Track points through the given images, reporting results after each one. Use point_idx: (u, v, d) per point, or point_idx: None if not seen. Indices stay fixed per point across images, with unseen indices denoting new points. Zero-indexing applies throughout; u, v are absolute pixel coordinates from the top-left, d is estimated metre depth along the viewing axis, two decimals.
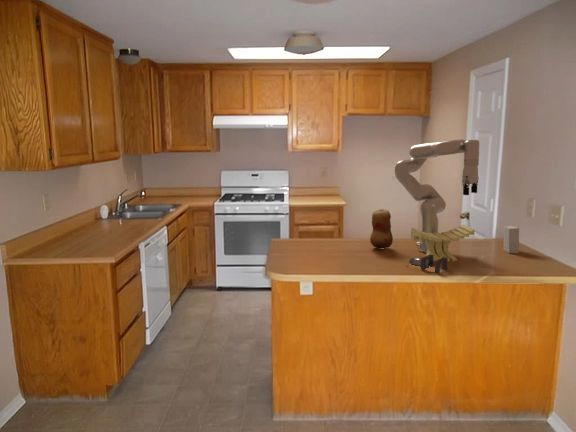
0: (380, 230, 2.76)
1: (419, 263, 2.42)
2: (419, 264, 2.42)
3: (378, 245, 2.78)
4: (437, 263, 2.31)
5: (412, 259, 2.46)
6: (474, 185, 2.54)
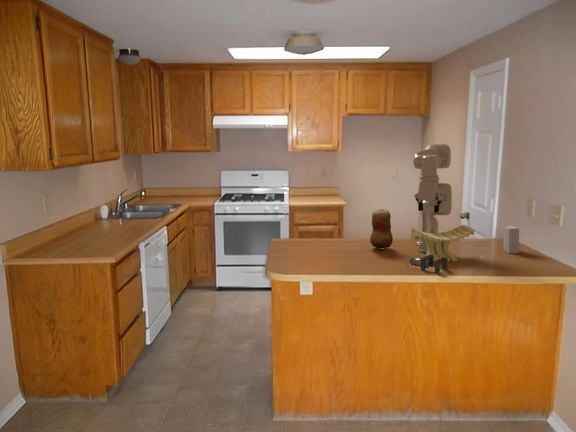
0: (380, 230, 2.76)
1: (419, 263, 2.42)
2: (419, 264, 2.42)
3: (378, 245, 2.78)
4: (437, 263, 2.31)
5: (412, 259, 2.46)
6: (421, 203, 2.45)
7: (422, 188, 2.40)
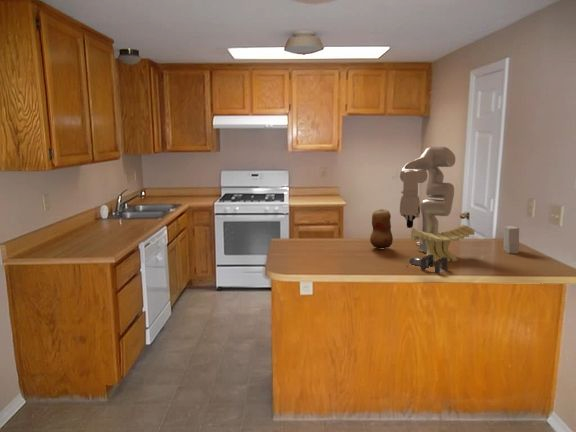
0: (380, 230, 2.76)
1: (419, 263, 2.42)
2: (419, 264, 2.42)
3: (378, 245, 2.78)
4: (437, 263, 2.31)
5: (412, 259, 2.46)
6: (409, 219, 2.45)
7: (404, 202, 2.42)
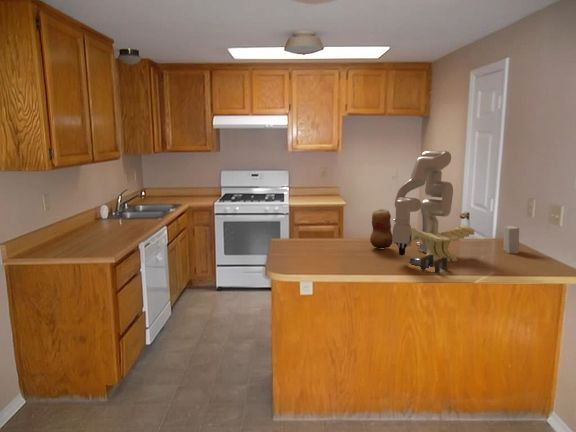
0: (380, 230, 2.76)
1: (419, 263, 2.42)
2: (419, 264, 2.42)
3: (378, 245, 2.78)
4: (437, 263, 2.31)
5: (412, 259, 2.46)
6: None
7: (396, 230, 2.48)
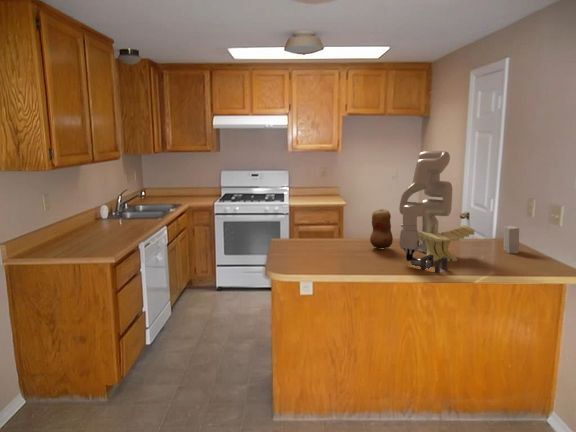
0: (380, 230, 2.76)
1: None
2: (420, 264, 2.42)
3: (378, 245, 2.78)
4: (437, 263, 2.31)
5: (413, 259, 2.45)
6: None
7: (403, 236, 2.46)
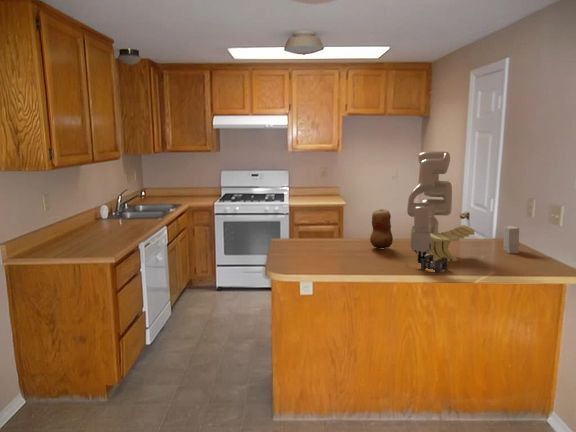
0: (380, 230, 2.76)
1: (433, 266, 2.36)
2: (432, 267, 2.37)
3: (378, 245, 2.78)
4: (437, 263, 2.31)
5: None
6: None
7: (414, 238, 2.41)
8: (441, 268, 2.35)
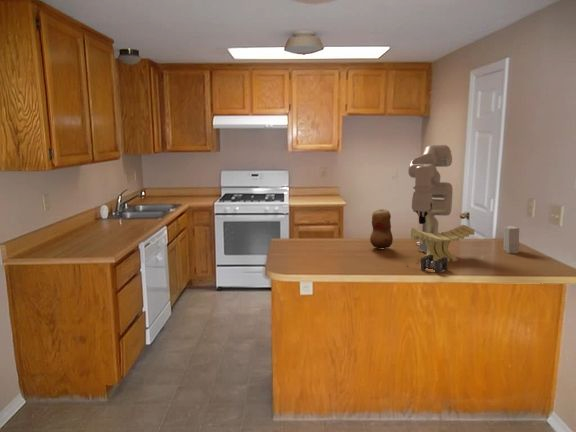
0: (380, 230, 2.76)
1: (433, 266, 2.36)
2: (432, 267, 2.37)
3: (378, 245, 2.78)
4: (437, 263, 2.31)
5: None
6: None
7: (416, 198, 2.39)
8: (441, 268, 2.35)
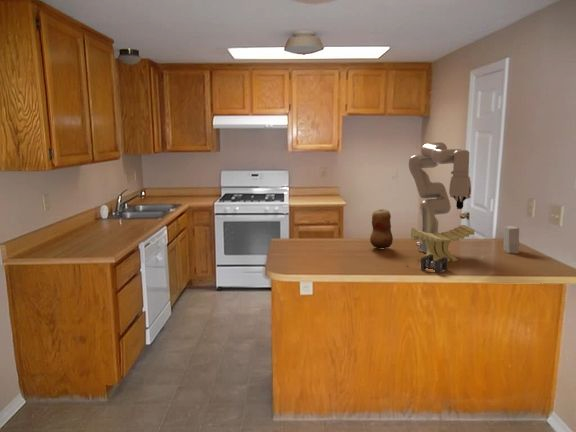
0: (380, 230, 2.76)
1: (433, 266, 2.36)
2: (432, 267, 2.37)
3: (378, 245, 2.78)
4: (437, 263, 2.31)
5: None
6: (459, 200, 2.40)
7: (454, 183, 2.37)
8: (441, 268, 2.35)
